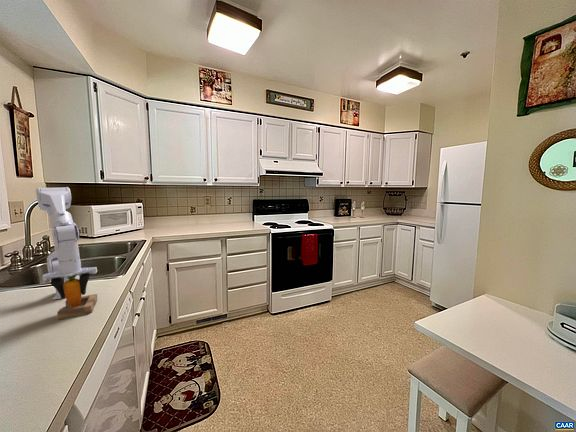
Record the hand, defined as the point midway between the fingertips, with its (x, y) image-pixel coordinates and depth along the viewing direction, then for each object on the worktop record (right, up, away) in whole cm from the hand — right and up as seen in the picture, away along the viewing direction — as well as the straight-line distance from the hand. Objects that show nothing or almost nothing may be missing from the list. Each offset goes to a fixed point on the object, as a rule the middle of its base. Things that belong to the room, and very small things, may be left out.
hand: (74, 295), depth 89 cm
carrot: (0, -6, +1) cm, 6 cm away
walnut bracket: (0, -5, +1) cm, 5 cm away
